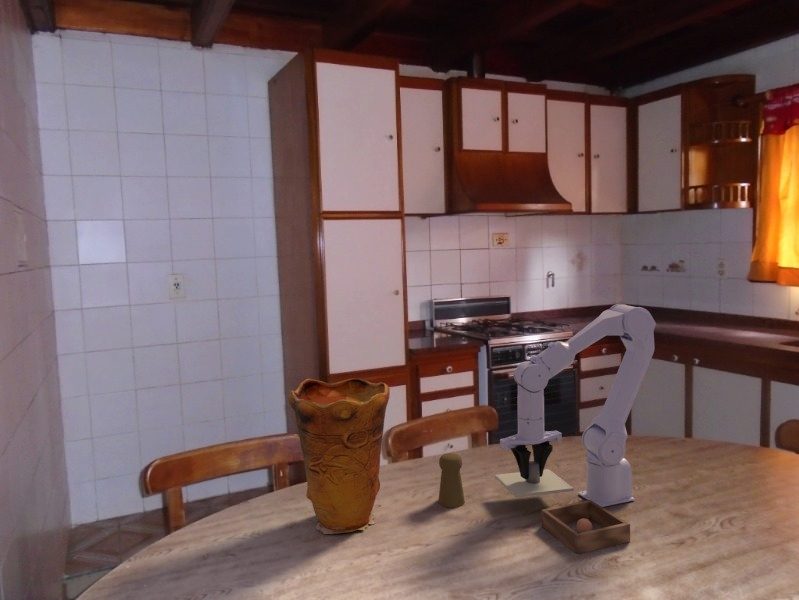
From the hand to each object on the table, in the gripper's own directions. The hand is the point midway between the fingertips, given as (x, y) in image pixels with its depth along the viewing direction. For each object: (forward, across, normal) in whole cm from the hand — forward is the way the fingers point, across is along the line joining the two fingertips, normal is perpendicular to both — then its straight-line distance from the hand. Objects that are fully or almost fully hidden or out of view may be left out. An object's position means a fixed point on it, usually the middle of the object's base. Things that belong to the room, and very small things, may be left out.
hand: (531, 476), depth 132 cm
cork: (+6, +16, -8) cm, 19 cm away
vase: (+7, +41, -7) cm, 42 cm away
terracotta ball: (+6, -2, +16) cm, 17 cm away
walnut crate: (+6, -2, +16) cm, 17 cm away
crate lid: (+2, 0, +1) cm, 2 cm away
